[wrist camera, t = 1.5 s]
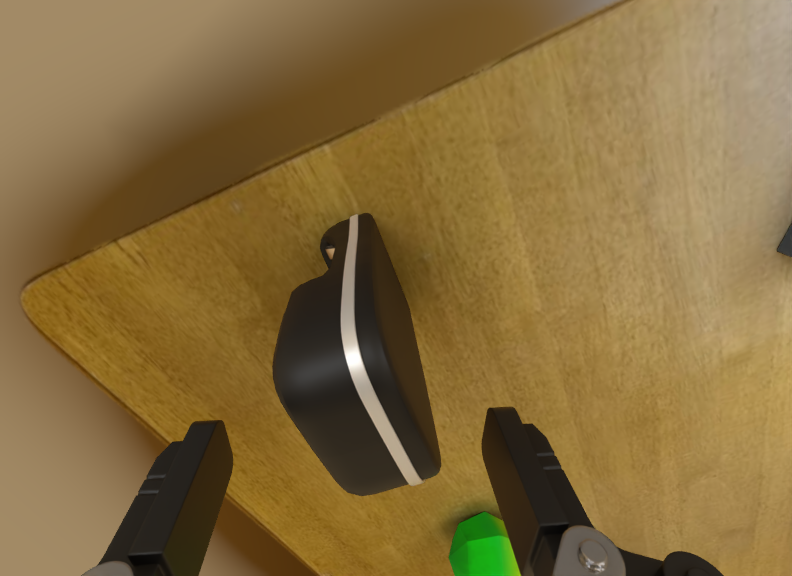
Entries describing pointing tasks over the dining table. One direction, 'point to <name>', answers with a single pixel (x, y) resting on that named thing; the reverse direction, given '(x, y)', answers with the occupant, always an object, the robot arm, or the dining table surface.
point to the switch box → (786, 243)
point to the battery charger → (357, 367)
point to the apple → (482, 548)
